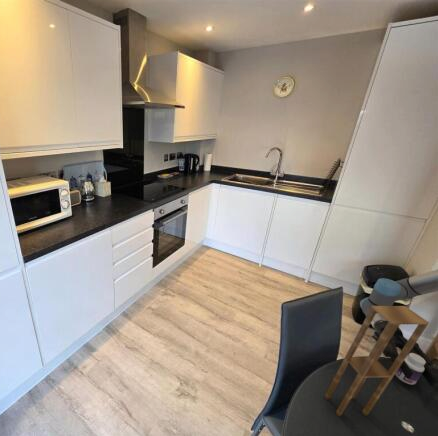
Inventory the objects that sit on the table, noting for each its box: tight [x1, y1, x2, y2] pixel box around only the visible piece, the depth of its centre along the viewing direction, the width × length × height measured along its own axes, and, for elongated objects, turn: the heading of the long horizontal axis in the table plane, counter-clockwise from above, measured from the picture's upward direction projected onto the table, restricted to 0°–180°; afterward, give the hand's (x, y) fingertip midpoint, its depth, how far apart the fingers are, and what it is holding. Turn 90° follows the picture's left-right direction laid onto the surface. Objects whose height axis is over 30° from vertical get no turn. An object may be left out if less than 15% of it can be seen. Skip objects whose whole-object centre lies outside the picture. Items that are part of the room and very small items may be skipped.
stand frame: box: [324, 308, 429, 417], centre depth 70 cm, size 10×6×37 cm, turn 93°
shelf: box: [371, 305, 430, 325], centre depth 63 cm, size 10×6×1 cm, turn 93°
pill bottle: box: [394, 353, 426, 386], centre depth 84 cm, size 5×5×10 cm
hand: (421, 379), depth 79 cm, fingers closed on pill bottle, 5 cm apart
